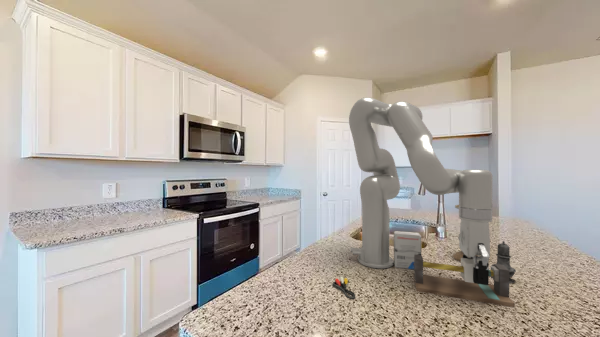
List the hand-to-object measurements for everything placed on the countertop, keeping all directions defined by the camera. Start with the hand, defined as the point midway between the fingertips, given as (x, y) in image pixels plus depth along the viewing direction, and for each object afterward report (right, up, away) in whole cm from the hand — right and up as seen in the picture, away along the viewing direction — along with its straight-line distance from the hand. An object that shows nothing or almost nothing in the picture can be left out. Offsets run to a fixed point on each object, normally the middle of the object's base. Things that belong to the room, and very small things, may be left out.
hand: (474, 276), depth 67 cm
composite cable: (-36, -5, +1) cm, 37 cm away
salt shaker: (+15, -5, +8) cm, 18 cm away
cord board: (-4, -5, +1) cm, 6 cm away
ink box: (-11, -5, +18) cm, 22 cm away
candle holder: (+15, -5, +24) cm, 29 cm away
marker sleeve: (0, -1, 0) cm, 1 cm away
